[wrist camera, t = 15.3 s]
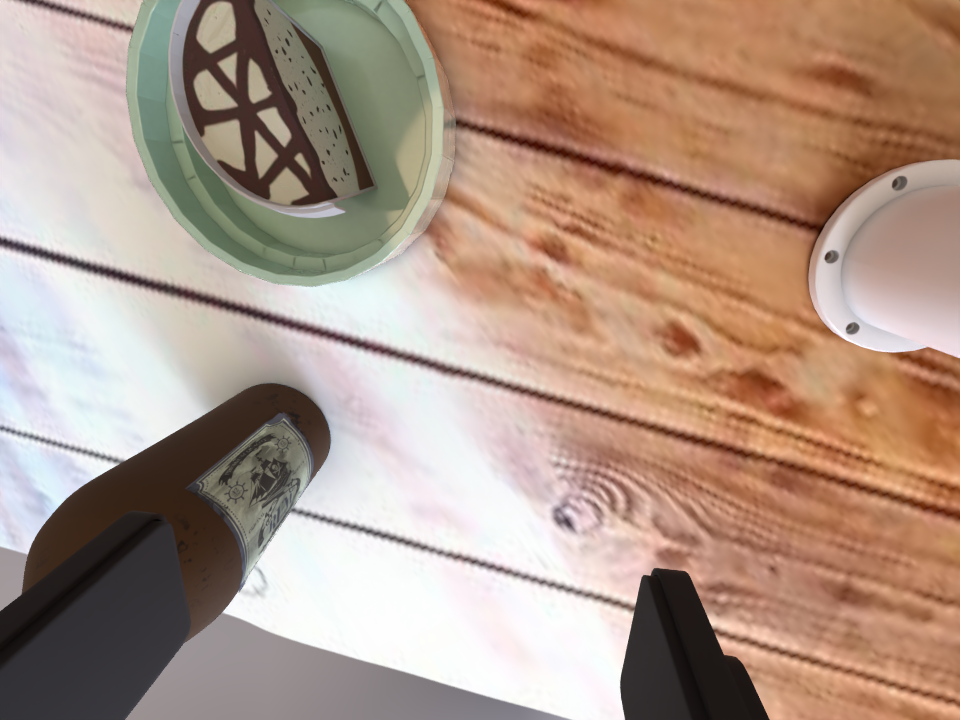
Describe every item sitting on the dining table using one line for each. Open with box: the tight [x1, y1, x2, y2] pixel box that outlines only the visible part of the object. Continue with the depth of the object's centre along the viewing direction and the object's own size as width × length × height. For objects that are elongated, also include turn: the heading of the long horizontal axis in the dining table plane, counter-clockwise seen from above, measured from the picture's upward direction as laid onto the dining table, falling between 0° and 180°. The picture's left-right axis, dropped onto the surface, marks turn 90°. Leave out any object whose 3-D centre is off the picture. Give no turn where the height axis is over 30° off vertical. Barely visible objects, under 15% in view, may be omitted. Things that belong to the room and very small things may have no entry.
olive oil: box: [22, 384, 330, 643], centre depth 30 cm, size 11×11×25 cm
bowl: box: [126, 0, 456, 287], centre depth 31 cm, size 19×19×6 cm
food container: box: [168, 0, 378, 218], centre depth 28 cm, size 12×6×10 cm, turn 19°
